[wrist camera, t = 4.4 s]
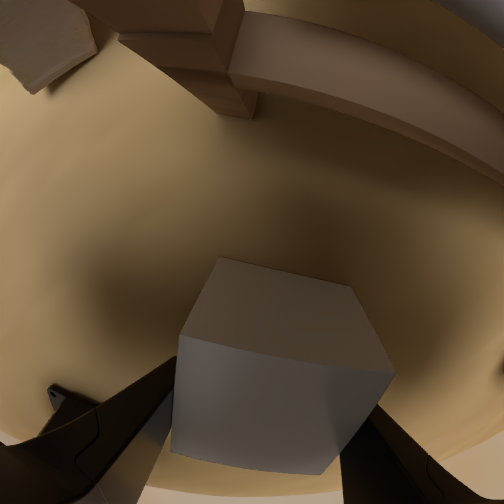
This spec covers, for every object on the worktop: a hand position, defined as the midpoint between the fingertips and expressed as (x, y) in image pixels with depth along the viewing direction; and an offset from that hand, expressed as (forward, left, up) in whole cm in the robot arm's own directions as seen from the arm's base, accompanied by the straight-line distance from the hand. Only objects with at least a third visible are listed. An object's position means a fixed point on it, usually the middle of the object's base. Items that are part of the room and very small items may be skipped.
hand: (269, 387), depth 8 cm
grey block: (+14, +13, -4) cm, 19 cm away
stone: (0, 0, -3) cm, 3 cm away
